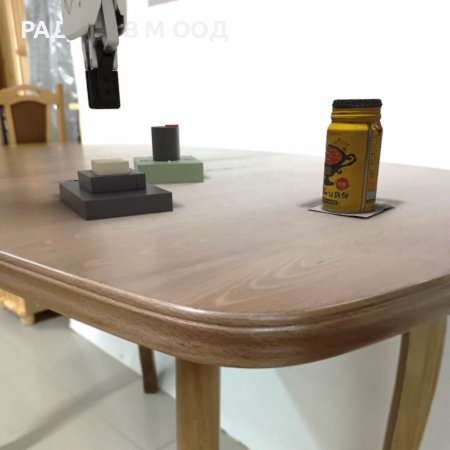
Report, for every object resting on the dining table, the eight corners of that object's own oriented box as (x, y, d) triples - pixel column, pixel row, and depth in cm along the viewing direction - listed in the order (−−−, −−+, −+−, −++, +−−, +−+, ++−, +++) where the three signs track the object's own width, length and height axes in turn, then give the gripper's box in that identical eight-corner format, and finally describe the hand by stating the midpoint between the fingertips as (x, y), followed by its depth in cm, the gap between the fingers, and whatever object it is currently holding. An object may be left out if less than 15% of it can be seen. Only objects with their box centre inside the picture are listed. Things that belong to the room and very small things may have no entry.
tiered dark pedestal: (60, 199, 64) (56, 168, 62) (134, 192, 68) (132, 163, 66) (86, 221, 52) (82, 183, 51) (173, 211, 56) (171, 176, 55)
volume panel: (134, 175, 84) (133, 156, 83) (191, 173, 86) (191, 154, 85) (139, 185, 74) (137, 163, 73) (203, 182, 76) (203, 161, 75)
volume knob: (154, 161, 76) (152, 125, 74) (151, 158, 80) (149, 124, 78) (182, 160, 77) (180, 125, 75) (178, 157, 81) (176, 123, 79)
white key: (92, 174, 59) (90, 159, 59) (121, 172, 61) (119, 158, 60) (100, 178, 56) (98, 163, 56) (130, 176, 58) (128, 161, 57)
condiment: (306, 210, 57) (313, 98, 52) (339, 199, 63) (348, 98, 58) (366, 219, 52) (379, 98, 48) (395, 206, 58) (409, 98, 54)
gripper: (35, -72, 53) (58, 108, 60) (63, -124, 41) (88, 110, 48) (103, -62, 57) (117, 107, 64) (148, -108, 44) (159, 109, 51)
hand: (104, 108), depth 56 cm, fingers closed
